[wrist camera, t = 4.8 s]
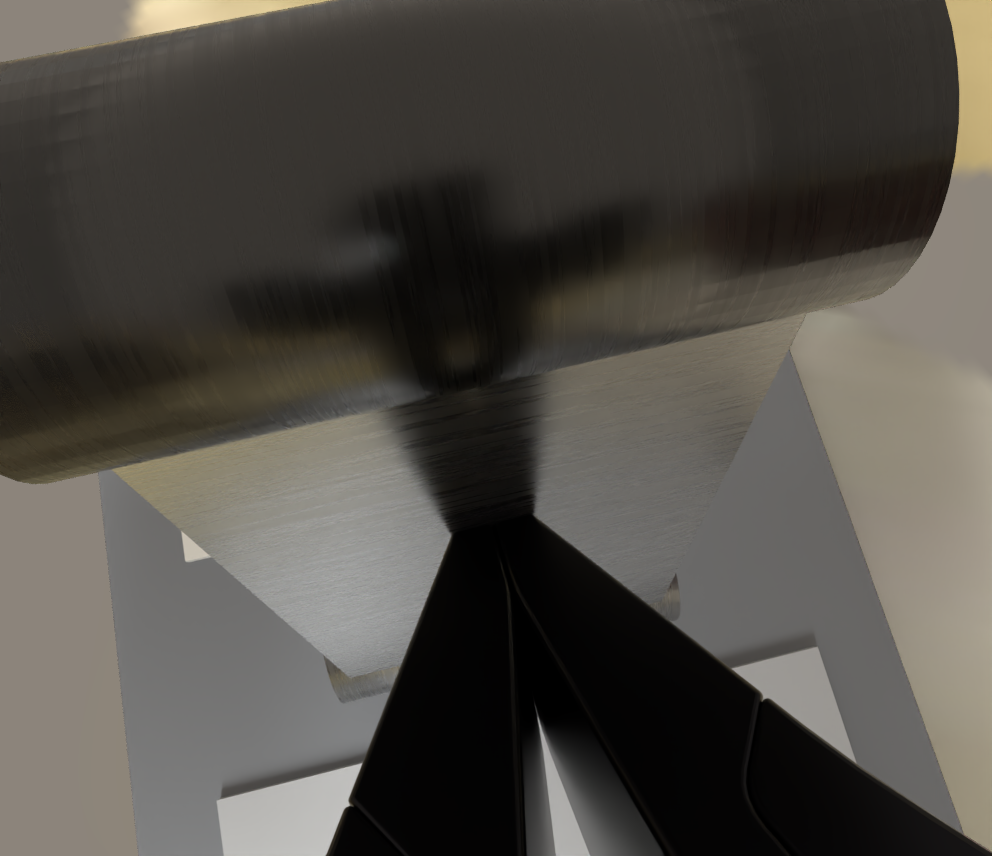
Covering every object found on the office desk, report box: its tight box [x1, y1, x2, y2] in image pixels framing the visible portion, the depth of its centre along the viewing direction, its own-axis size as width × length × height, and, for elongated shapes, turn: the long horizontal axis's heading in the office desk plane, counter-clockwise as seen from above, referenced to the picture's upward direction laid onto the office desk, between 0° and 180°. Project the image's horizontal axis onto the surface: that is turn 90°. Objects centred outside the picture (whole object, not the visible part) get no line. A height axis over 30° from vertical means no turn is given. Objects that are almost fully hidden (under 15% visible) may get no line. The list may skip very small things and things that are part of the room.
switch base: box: [98, 350, 964, 856], centre depth 15 cm, size 14×14×2 cm
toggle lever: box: [0, 0, 959, 704], centre depth 9 cm, size 2×6×11 cm, turn 103°
